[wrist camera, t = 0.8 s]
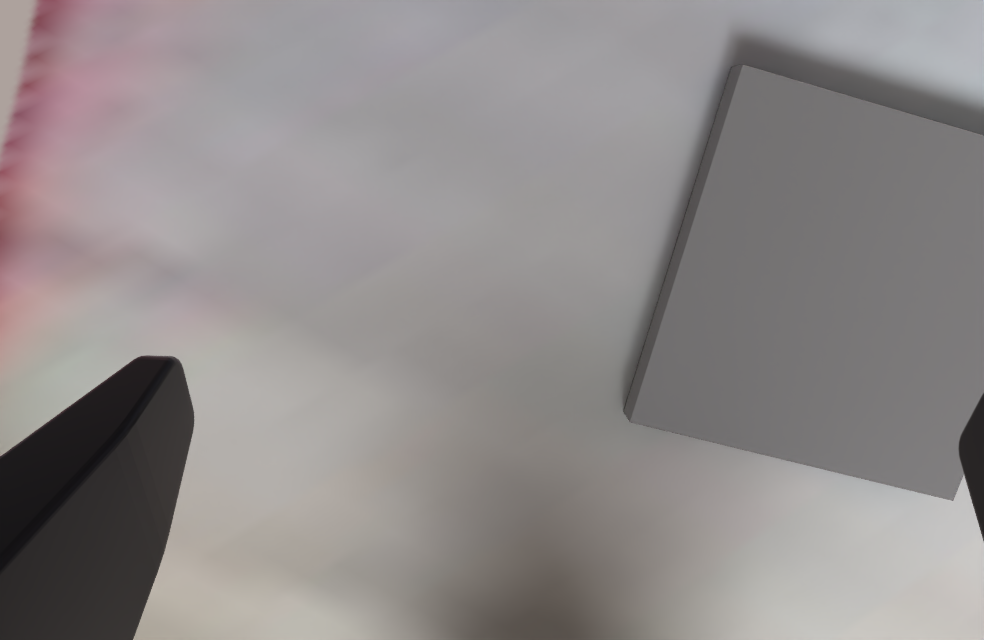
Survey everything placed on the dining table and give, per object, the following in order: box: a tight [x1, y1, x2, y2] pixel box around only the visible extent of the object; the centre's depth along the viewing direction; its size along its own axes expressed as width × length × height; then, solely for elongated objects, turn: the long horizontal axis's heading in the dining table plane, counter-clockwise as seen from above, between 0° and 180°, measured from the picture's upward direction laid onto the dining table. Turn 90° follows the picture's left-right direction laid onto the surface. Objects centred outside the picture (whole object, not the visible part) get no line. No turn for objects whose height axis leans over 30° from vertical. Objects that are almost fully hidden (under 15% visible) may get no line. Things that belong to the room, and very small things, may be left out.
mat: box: [623, 64, 984, 501], centre depth 26 cm, size 11×11×1 cm
